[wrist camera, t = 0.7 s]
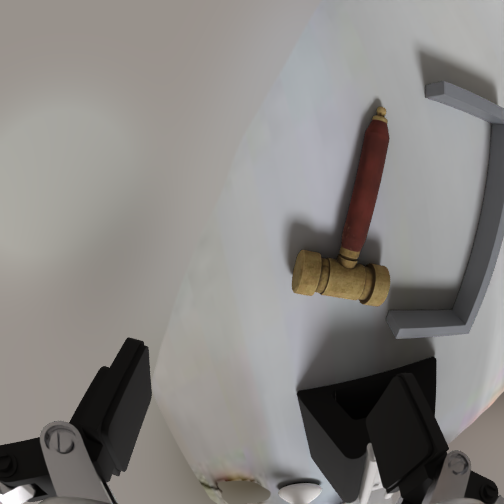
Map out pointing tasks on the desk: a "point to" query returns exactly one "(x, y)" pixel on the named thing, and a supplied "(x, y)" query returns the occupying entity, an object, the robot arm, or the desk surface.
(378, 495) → the white stepped block
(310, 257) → the gavel
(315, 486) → the flower in vase
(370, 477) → the device stand
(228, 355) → the desk surface
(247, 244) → the desk surface
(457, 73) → the desk surface
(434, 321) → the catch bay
